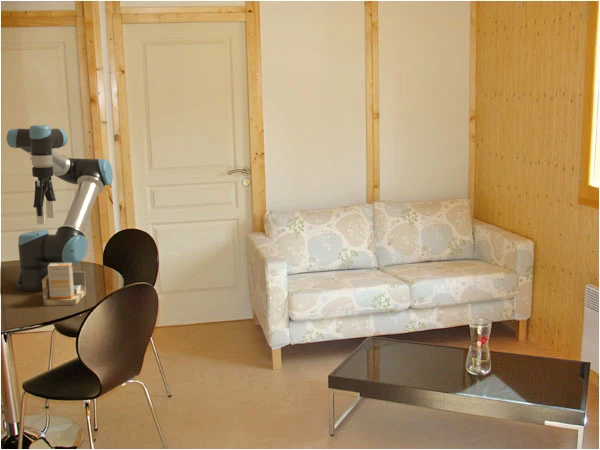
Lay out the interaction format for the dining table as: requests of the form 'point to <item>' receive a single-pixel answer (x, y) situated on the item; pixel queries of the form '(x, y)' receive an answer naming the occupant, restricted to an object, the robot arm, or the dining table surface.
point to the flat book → (77, 288)
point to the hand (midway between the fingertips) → (46, 221)
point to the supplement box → (60, 280)
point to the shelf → (77, 280)
